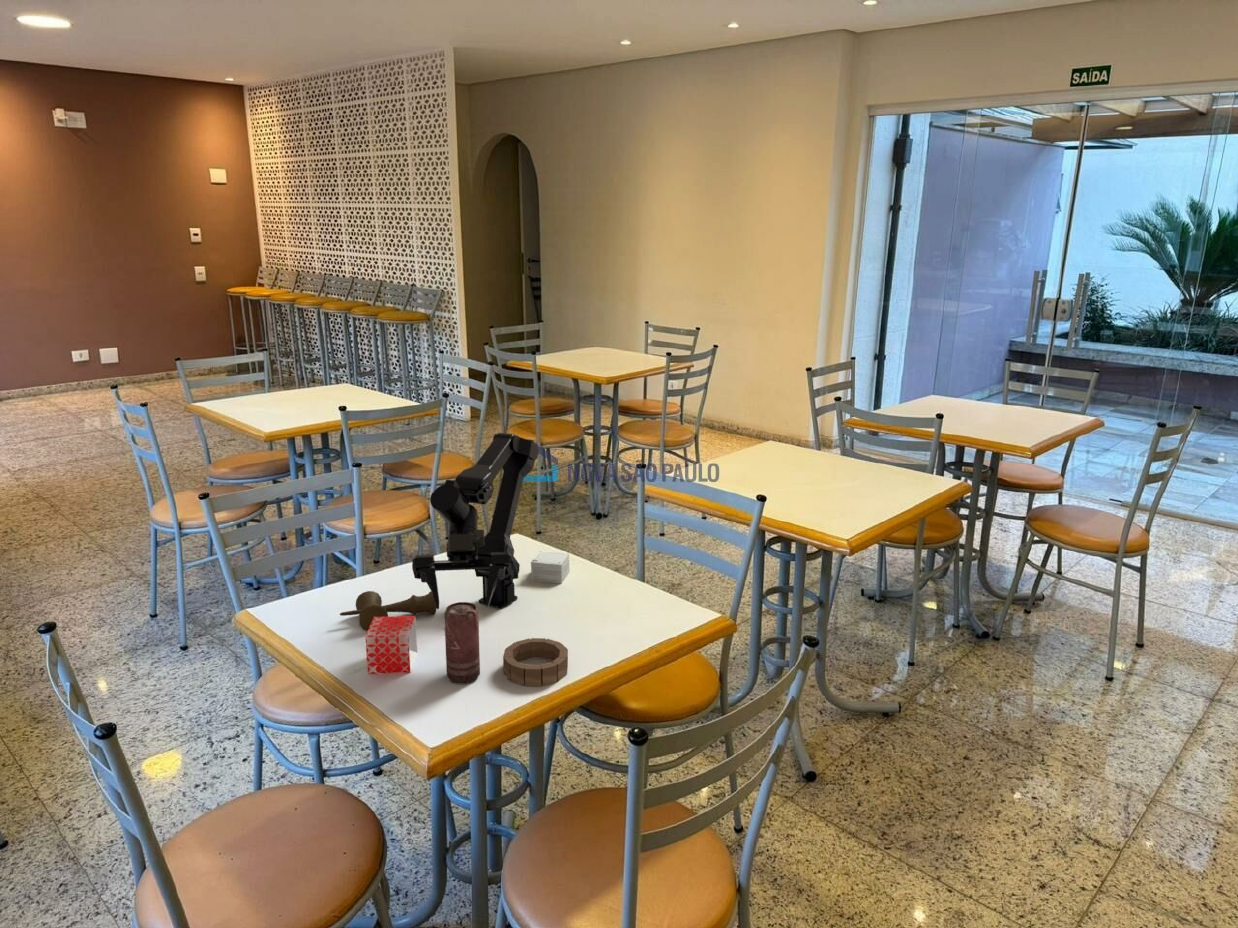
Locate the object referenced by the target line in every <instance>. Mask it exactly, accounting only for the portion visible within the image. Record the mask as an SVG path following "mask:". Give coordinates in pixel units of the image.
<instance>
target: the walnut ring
mask: <svg viewBox="0 0 1238 928" xmlns="http://www.w3.org/2000/svg"><path fill="white" fill-rule="evenodd" d="M502 657H503V658H502V659H503V662H502V667H503V671H502V672H503V675H504V676H505V677H506V679H507V680H508V681H510V682H512V683H514V684H516V685H520V686H523V687H524V686H525V687H545V686H549V685H552V684H555V683H558V682H559V681H561V680H562V679H563V678H565V677H566V676H567V674H568V670H569V669H568V668H569V661H568V660H569V650H568V648H567V647H566V646H565V645H564V644H563V643H562V642H560V641H558V640H554V639H550V638H545V637H544V638H543V637H542V638H540V637H538V638H537V637H536V638H535V637H531V638H527V639H526V638H525V639H522V640H517V641H515V642H513V643H512V644H510V645H508V646H507V647H506V648H504V653H503V656H502ZM529 659H546V660H549V661H550V662H546V663H542V664H525V663H523V662H522V661H525V660H526V661H527V660H529Z"/></svg>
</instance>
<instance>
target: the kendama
mask: <svg viewBox="0 0 1238 928" xmlns="http://www.w3.org/2000/svg"><path fill="white" fill-rule="evenodd" d="M382 603H383V601H382V596H381V595H380V594H379V593H378V592H376V591H372V590H370V591H368V590H367V591H365V592H364V591H363V592H362V593H360V594H359V595H358V596H357V598H356V600H355V610H348V611H344V612H340V613H339V616H343V617H344V616H353V615H354V616H356V615H358V624H359V626H360V628H361V629H362V630H363V631H366V632H367V631H368V629H369V627H370V625H371V623H372V621H373V619H374V617H389V613H408V614H412V615H413V616H417V615H418V614H421V613H425V614H426V613H428V614H430V615H436V613H437V610H438V609H437V607H436V604H435V601H434V598H433V595H432V592H431V591H429V592H428V593H427V594H425V595H420V596H418V595H415V594H412V595H411V597H409V598H407V599H404V600H402V601H397V602H394V603H390V604H386V605H384V604H383V605H382Z"/></svg>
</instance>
